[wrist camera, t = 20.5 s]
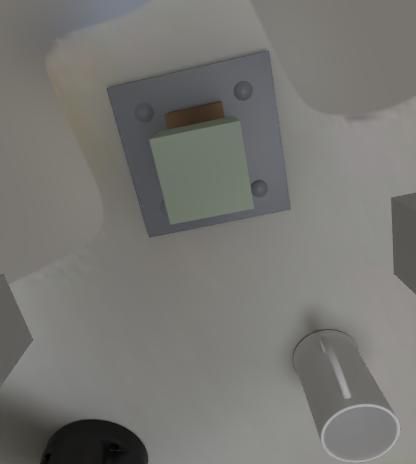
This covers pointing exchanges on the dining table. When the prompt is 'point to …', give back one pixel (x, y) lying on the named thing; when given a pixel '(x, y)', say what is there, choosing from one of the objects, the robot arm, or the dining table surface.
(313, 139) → the dining table surface
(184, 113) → the walnut brick
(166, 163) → the sage brick
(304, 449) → the dining table surface
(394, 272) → the robot arm
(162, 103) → the plate
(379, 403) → the mug
